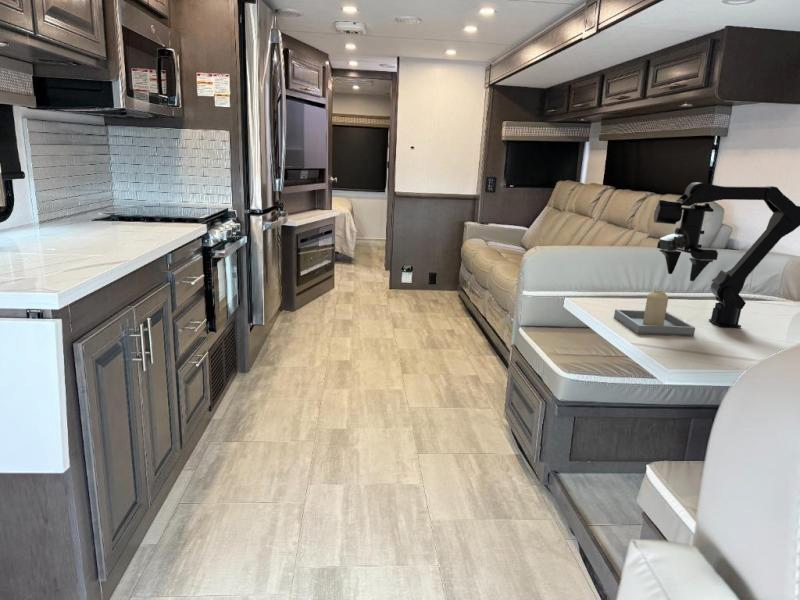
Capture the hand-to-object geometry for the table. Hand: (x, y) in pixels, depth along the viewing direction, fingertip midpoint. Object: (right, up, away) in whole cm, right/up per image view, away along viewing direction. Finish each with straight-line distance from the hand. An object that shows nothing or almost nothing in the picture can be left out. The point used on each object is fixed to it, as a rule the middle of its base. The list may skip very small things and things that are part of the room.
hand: (680, 277), depth 166 cm
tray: (-11, -15, -6) cm, 19 cm away
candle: (-11, -14, -6) cm, 19 cm away
